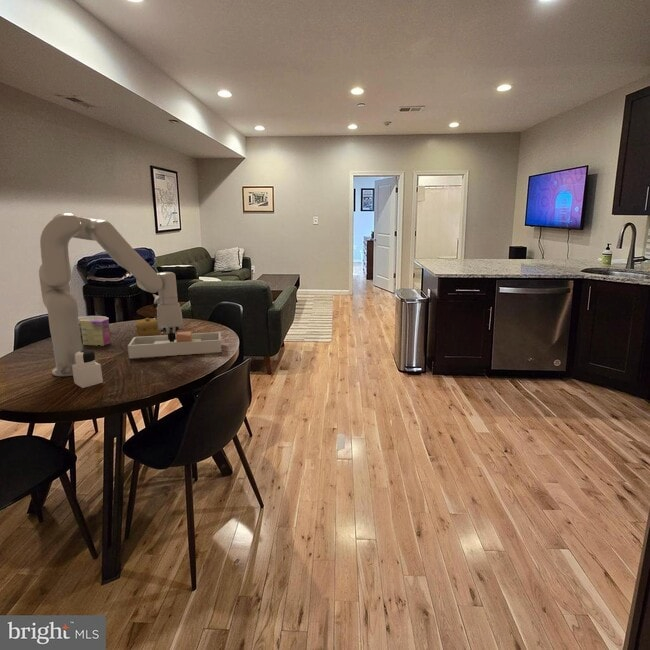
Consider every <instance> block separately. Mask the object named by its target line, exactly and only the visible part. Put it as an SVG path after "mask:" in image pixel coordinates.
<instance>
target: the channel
mask: <svg viewBox="0 0 650 650" xmlns="http://www.w3.org/2000/svg"><path fill="white" fill-rule="evenodd" d="M176 336H177V334H175V337H176ZM221 347H222V332H221V331H218V332H217V331H215V332H201V333H199V332H198V333H192V341H189V342H177V339H176V340H174V342H170V340H168V334H165V335H161V334H160V335H158V336H143V337H139V336H134V337H132V339H131V341H130V342H129V343H128V344H127V353H128V359H129V360H140V358H143V359H155V357H158V358H167V357H166V356H173V357H178V356H177V355H187V356H191V355H190V354H202V355H206V354H205V353H217V354H221V353H220V352H222V353H223V350H222V348H221Z"/></svg>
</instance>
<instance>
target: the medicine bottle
mask: <svg viewBox="0 0 650 650" xmlns="http://www.w3.org/2000/svg"><path fill="white" fill-rule="evenodd" d="M75 359H76V364H74V365H72V370H73V375H72V377H73V383H74V384H75V385H76V386H79V387H80V388H81V389H84V388H88V387H93V386H95V385H99V384H103V383H104V380H103V372H102V365H101V363H98V362H96V355H95V351H93V350H91V349H85V350H84V349H83V351H79V352H77V353H76V354H75Z"/></svg>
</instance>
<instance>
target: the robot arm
mask: <svg viewBox="0 0 650 650" xmlns="http://www.w3.org/2000/svg"><path fill="white" fill-rule="evenodd" d="M73 238H74V239H80V240H87V241H95V242H96V243H97V244H98V245H99V246H100V247H101V248H102V249H103V250H104V251H105V252H106V254H108V256H109V257H110V258H111V259H112V260H113V261H114V262H115V263H116V264H117V265H118V266H120V267H121V268H123V269H125V270H126V271H127V272H129V273H130V274H131V275H132V276H133V277H134V278H135V279H136V280H135V281H136V284H137V285H136V286H137V287H138V288H140V289H141V290H142V291H145V292H148V293H151V294H155V293H158V296H159V298H157V299H156V302H159V303H160V304H158V306H157V309H156V315H157V321H158V329H160V330H161V331H162V330H163V331H164V332H165V333H166V335H168V340H170V342H174V340H176V337H175V335H176V332H177V331H178V330H179V329H184V327H185V326H184V322H183V321H184V319H183V314H182V308H181V304H180V302H178V301H179V300H178V299H179V298H178V291H177V290H178V287H177V278H176V276H177V275H176V273H174V272H172V271H163V272H162V271H161V272H156V271H155V269H153V267H152V266H151V265H150V264H149V263H148V262H147V261H146V260H145V259H144V258H143V257H142V256H141V255H140V254H139V253H138V252H137V251H136V249H134V248H133V247H132V246H131V244H129V243H128V241H127V240H126V238H124V237H123V236H122V234H121V233H120V232H119V231H118V230H117V229H116V228H115V226H114V225H113V224H112V223H111V222H109V221H108V220H105V219H97V218H96V219H94V218H89V217H88V218H87V217H84V216H83V217H82V216H78V215H75V214H73V213H70V212H67V213H66V212H63V213H62V212H61V213H58V214H57V215H54V216H53V218H52V219H51V220H50V221H49V222H48V223H47V224H46V225H45V226H44V228H43V230H42V232H41V235H40V240H39V241H40V243H39V245H40V246H39V247H40V256H41V265H40V266H39V270H38V277H39V286H40V291H41V297H42V302H43V305H44V307H45V308H46V309H47V314H48V316H47V317H48V325H49V332H50V336H51V342H52V348H53V356H54V360H55V361H54V362H55V363H54V364H55V367H54V368H53V369H52V370H51V374H52V375H53V376H55V377H73V370H72V365H74V364H76V359H75V354H76V353H77V352H79V351H83V350H84V349H83V340H82V337H81V334H80V328H79V320H78V317H79V308H78V302H77V299H76V297H75V296H74V295H73V294H72V293H71V289H70V288H71V287H70V282H71V281H72V277H73V276H72V274H73V273H72V269H71V264H70V255H69V254H70V253H69V243H70V241H71V239H73ZM169 327H173V328H172V330H171V328H169Z"/></svg>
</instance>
